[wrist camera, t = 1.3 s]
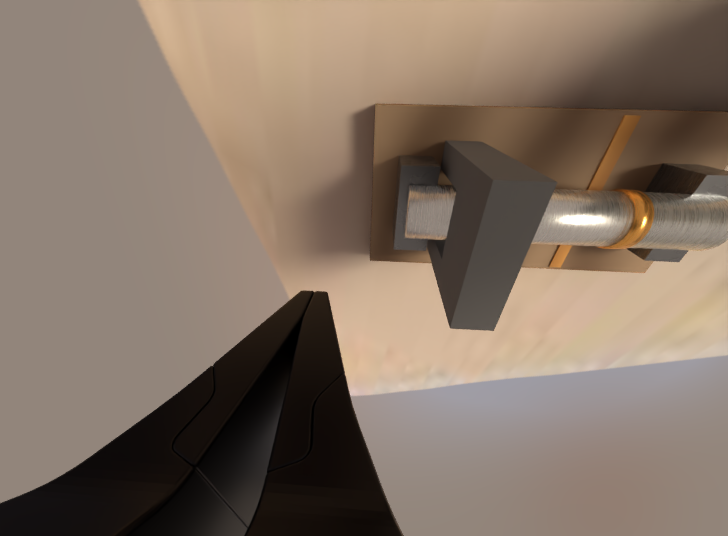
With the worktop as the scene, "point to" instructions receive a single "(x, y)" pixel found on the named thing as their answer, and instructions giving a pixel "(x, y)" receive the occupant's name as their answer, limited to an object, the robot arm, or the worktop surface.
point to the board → (545, 160)
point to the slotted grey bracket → (485, 231)
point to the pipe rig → (585, 212)
